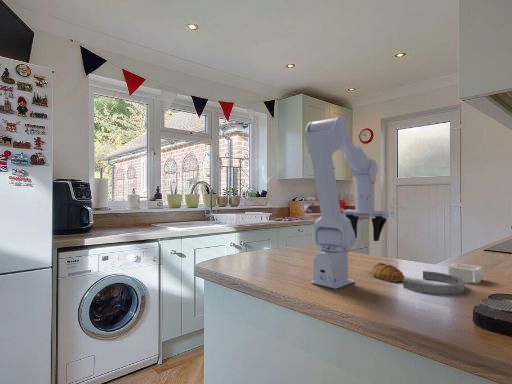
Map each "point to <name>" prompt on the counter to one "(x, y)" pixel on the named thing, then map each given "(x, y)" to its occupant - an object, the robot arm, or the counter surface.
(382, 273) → the pastry
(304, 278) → the counter surface
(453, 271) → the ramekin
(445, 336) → the counter surface
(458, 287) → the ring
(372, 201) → the robot arm
